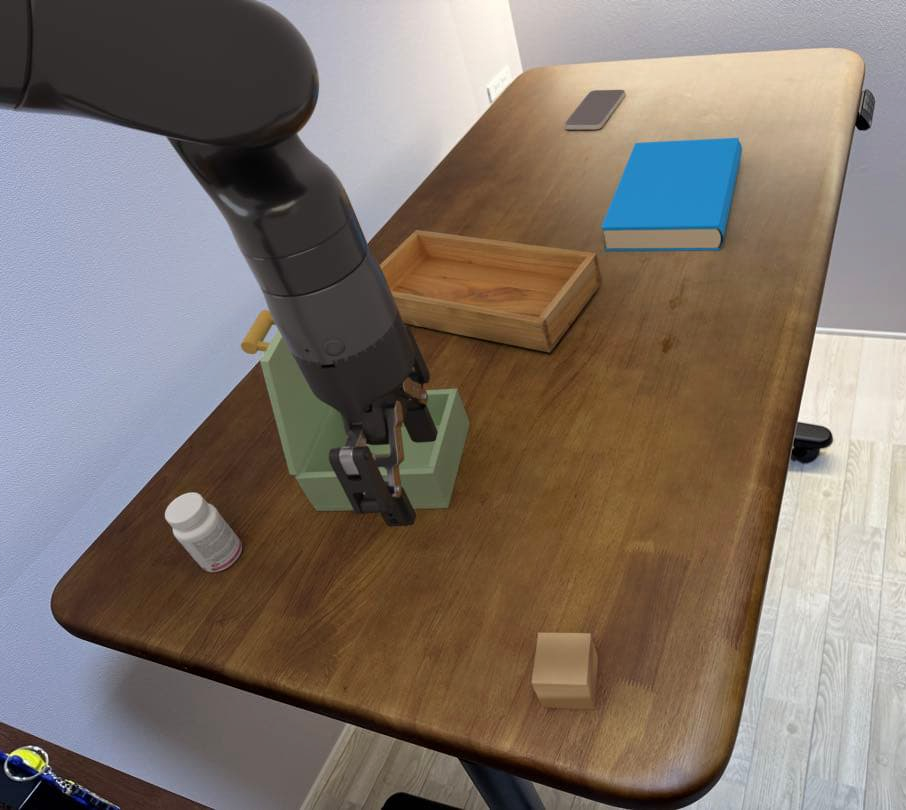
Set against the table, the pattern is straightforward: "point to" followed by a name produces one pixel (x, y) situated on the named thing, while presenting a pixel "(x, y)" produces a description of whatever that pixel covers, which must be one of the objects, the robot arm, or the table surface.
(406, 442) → the green box
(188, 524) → the pill bottle
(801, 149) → the table surface
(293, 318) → the robot arm
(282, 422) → the cover
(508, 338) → the tray
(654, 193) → the book
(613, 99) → the smartphone
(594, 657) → the block
